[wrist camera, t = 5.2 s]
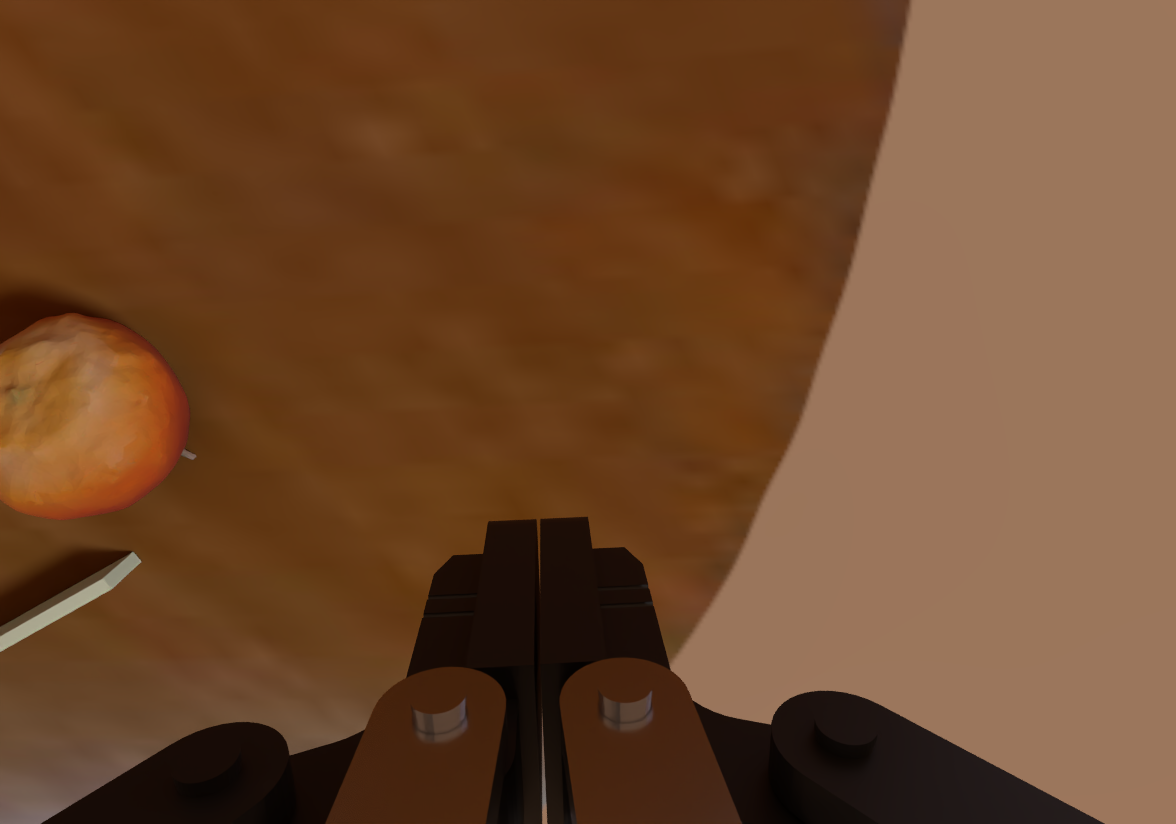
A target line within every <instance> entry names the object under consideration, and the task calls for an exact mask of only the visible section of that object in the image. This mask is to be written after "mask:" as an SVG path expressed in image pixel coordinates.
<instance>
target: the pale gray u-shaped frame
mask: <svg viewBox="0 0 1176 824" xmlns="http://www.w3.org/2000/svg"><path fill="white" fill-rule="evenodd" d="M139 563H141V560H140V559H139V558H138V557H137V556H136V554H135V553H134V552H132V553H130V554H128V555H127V556H125V557H123V558H121V559H119V560H118V561H116V562H114V563H112V564H111V565H109V566H107V567H105V568H104V569H102V570H100V571H98V572H96V573H95V574H93V575H91V576H89V577H88V578H86V579H84V580H82V581H81V582H79V583H77V584H75V585H73V586H72V587H70V588H68V589H66V590H65V591H63V592H61V593H59V594H58V595H56V596H54V597H52V598H50V599H49V600H47V601H45V602H43V603H42V604H40V605H38V606H36V607H35V608H33V609H31V610H29V611H27V612H26V613H24V614H22V615H20V616H19V617H17V618H15V619H13V620H12V621H10V622H8V623H6V624H4V625H3V626H1V627H0V652H1V651H2V650H4V649H6V648H8V647H10V646H11V645H13V644H15V643H17V642H18V641H20V640H22V639H24V638H26V637H27V636H29V635H31V634H33V633H34V632H36V631H38V630H40V629H42V628H43V627H45V626H47V625H49V624H50V623H52V622H54V621H56V620H58V619H59V618H61V617H63V616H65V615H67V614H68V613H70V612H72V611H74V610H75V609H77V608H79V607H81V606H83V605H84V604H86V603H88V602H90V601H91V600H93V599H95V598H97V597H99V596H100V595H102V594H104V593H106V592H108V591H109V590H111V589H112V588H114V587H115V586H116V585H117V584H118V583H119V582H120V581H121V580H122V579H123V578H124V577H125V576H126V575H128V574H129V573H130V572H131V571H132V570H133V569H134V568H135V567H136V566H137V565H138V564H139Z"/></svg>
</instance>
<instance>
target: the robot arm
mask: <svg viewBox="0 0 1176 824" xmlns="http://www.w3.org/2000/svg"><path fill="white" fill-rule="evenodd" d="M542 714H543V736H544V758H545V780H546V802H547V823H548V824H1104V823H1102V822H1100V821H1098V820H1097V819H1095V818H1093V817H1091V816H1089V815H1087V814H1085V813H1083V812H1081V811H1080V810H1078V809H1076V808H1074V807H1072V806H1070V805H1068V804H1066V803H1064V802H1062V801H1061V800H1059V799H1057V798H1055V797H1053V796H1051V795H1049V794H1047V793H1046V792H1043V791H1042V790H1040V789H1038V788H1036V787H1034V786H1032V785H1030V784H1028V783H1027V782H1025V781H1023V780H1021V779H1019V778H1017V777H1015V776H1013V775H1012V774H1010V773H1008V772H1006V771H1004V770H1002V769H1000V768H998V767H996V766H994V765H993V764H990V763H989V762H987V761H985V760H983V759H981V758H979V757H977V756H976V755H974V754H972V753H970V752H968V751H966V750H964V749H962V748H960V747H959V746H957V745H955V744H953V743H951V742H949V741H947V740H945V739H943V738H941V737H940V736H937V735H936V734H934V733H932V732H930V731H928V730H926V729H924V728H922V727H921V726H919V725H917V724H915V723H913V722H911V721H909V720H907V719H906V718H904V717H902V716H900V715H898V714H896V713H894V712H892V711H890V710H888V709H887V708H885V707H883V706H881V705H879V704H877V703H874V702H872V701H870V700H868V699H865V698H862V697H859V696H856V695H852V694H848V693H843V692H836V691H814V692H807V693H803V694H800V695H797V696H795V697H792V698H790V699H789V700H787V701H786V702H784V703H783V704H782V705H781V706H780V707H779V708H778V709H777V711H776V712H775V714H774V716H773V720H772V723H771V725H770V724H764V723H759V722H753V721H748V720H742V719H737V718H733V717H728V716H724V715H722V714H719V713H716V712H713V711H711V710H709V709H707V708H704V707H702V706H701V705H699V704H698V703H696V702H694V701H693V700H692V698H691V696H690V693H689V691H688V690H687V687H686V685H685V684H684V682H682V680H681V679H680V678H679V677H678V676H677V675H676V674H674V673H673V672H672V671H671V670H670V666H669V662H668V658H667V655H666V651H665V647H664V643H663V639H662V635H661V632H660V628H659V624H658V620H657V616H656V613H655V609H654V606H653V601H652V597H651V594H650V590H649V589H648V582H647V578H646V575H645V571H644V567H643V564H642V563H641V562H640V561H639V560H638V559H637V558H636V557H634V556H633V555H632V554H631V553H630V552H629V551H628V550H627V549H626V548H624V547H619V548H598V549H592V543H591V536H590V529H589V522H588V517H574V518H551V519H540V582H539V560H538V537H537V521H536V519H532V520H509V521H489V522H488V526H487V533H486V539H485V546H484V552H483V554H472V555H453V556H452V557H451V558H450V559H449V560H448V561H447V562H446V563H445V564H444V565H443V566H442V567H441V568H440V569H439V570H438V571H437V572H436V573H435V574H434V576H433V580H432V584H431V588H430V591H429V595H428V600H427V602H426V606H425V610H424V618H422V621H421V625H420V628H419V632H418V636H417V640H416V643H415V647H414V651H413V654H412V658H411V662H410V666H409V669H408V673H407V677H406V678H405V679H403V680H402V681H400V682H398V683H397V684H395V685H394V686H392V687H391V688H390V689H389V690H388V691H387V692H386V693H384V694H383V696H382V697H381V698H380V699H379V701H378V702H377V704H376V706H375V708H374V709H373V712H372V714H371V717H370V719H369V721H368V724H367V726H366V728H365V730H363V731H361V732H359V733H357V734H355V735H353V736H351V737H348V738H346V739H343V740H340V741H337V742H335V743H331V744H328V745H324V746H321V747H318V748H314V749H311V750H307V751H304V752H300V753H297V754H294V755H290V756H289V750H288V746H287V742H286V741H285V739H284V737H283V736H282V735H281V734H280V733H279V732H278V731H277V730H275V729H273V728H271V727H269V726H266V725H263V724H259V723H251V722H235V723H227V724H221V725H217V726H213V727H209V728H206V729H203V730H200V731H197V732H195V733H193V734H191V735H188V736H186V737H184V738H182V739H180V740H178V741H177V742H175V743H173V744H171V745H169V746H168V747H166V748H164V749H163V750H161V751H160V752H158V753H156V754H155V755H153V756H151V757H150V758H148V759H146V760H145V761H143V762H141V763H140V764H138V765H137V766H135V767H133V768H132V769H130V770H128V771H127V772H125V773H123V774H122V775H120V776H118V777H117V778H115V779H113V780H112V781H110V782H109V783H107V784H105V785H104V786H102V787H100V788H99V789H97V790H95V791H94V792H92V793H90V794H89V795H87V796H85V797H84V798H82V799H81V800H79V801H77V802H76V803H74V804H72V805H71V806H69V807H67V808H66V809H64V810H62V811H61V812H59V813H57V814H56V815H54V816H53V817H51V818H49V819H48V820H46V821H44V822H43V823H41V824H542Z"/></svg>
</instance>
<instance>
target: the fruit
mask: <svg viewBox="0 0 1176 824" xmlns="http://www.w3.org/2000/svg"><path fill="white" fill-rule="evenodd" d="M189 422H190V408H189V405H188V400H187V397H186V394H185V392H184V390H183V388H182V386H181V384H180V382H179V380H178V379H177V377H176V375H175V374H174V372H173V371H172V369H171V368H170V366H169V365H168V363H167V362H166V361H165V359H164V358H163V357H162V355H161V354H160V353H159V352H158V350H157V349H156V348H155V347H154V346H152V345H151V344H150V343H149V342H148V341H147V340H145V339H144V338H143V337H141V336H140V335H138V334H137V333H135V332H134V331H132V330H131V329H129V328H127V327H126V326H124V325H122V324H120V323H117V322H115V321H112V320H109V319H104V318H95V317H88V316H84V315H81V314H78V313H66V314H63V315H59V316H50V317H45V318H43V319H40V320H38V321H37V322H35V323H34V324H32V325H31V326H29V327H27V328H26V329H24V330H23V331H21V332H20V333H18V334H16V335H15V336H13V337H11V338H10V339H8V340H6V341H5V342H3V343H2V344H0V500H1V501H2V502H4V503H5V504H7V505H8V506H10V507H11V508H13V509H14V510H16V511H19V512H22V513H25V514H28V515H33V516H37V517H42V518H47V519H57V520H67V519H74V518H80V517H87V516H93V515H99V514H105V513H109V512H114V511H118V510H122V509H124V508H127V507H129V506H131V505H132V504H134V503H136V502H137V501H138V500H140V499H141V498H143V497H144V496H145V495H147V494H148V493H149V492H150V491H152V490H153V489H154V488H155V487H156V486H158V485H159V484H160V483H161V482H162V481H163V480H164V479H165V478H166V477H167V475H168V474H169V473H170V472H171V470H172V469H173V468H174V466H175V465H176V463H177V461H178V459H179V457H180V456H184V457H187V458H190V459H192V460H194V458H195V457H196V455H195V454H192V453H191V452H189V451H187V450H186V449H184V448H185V446H186V443H187V439H188V432H189Z"/></svg>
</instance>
